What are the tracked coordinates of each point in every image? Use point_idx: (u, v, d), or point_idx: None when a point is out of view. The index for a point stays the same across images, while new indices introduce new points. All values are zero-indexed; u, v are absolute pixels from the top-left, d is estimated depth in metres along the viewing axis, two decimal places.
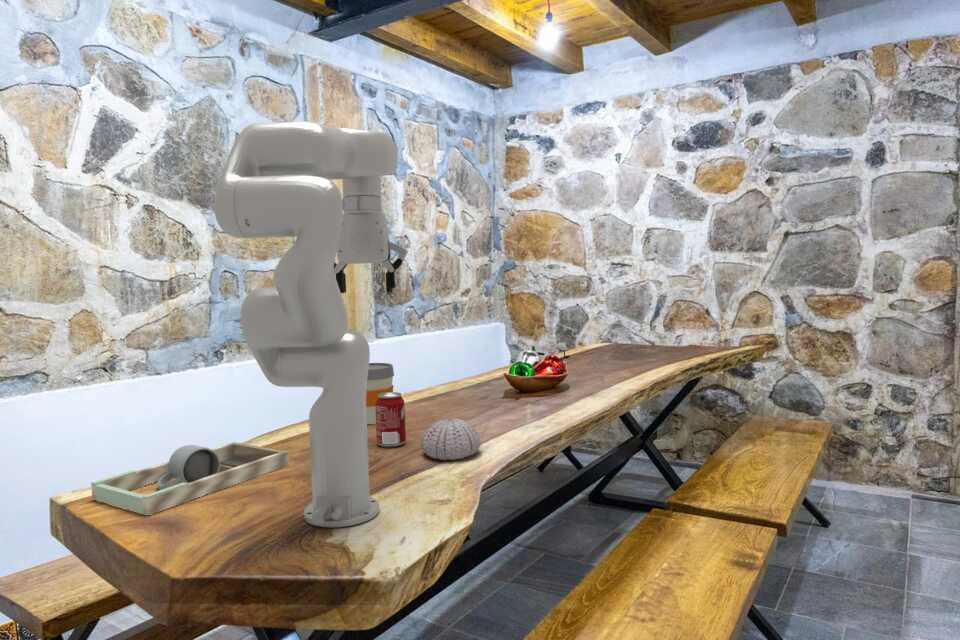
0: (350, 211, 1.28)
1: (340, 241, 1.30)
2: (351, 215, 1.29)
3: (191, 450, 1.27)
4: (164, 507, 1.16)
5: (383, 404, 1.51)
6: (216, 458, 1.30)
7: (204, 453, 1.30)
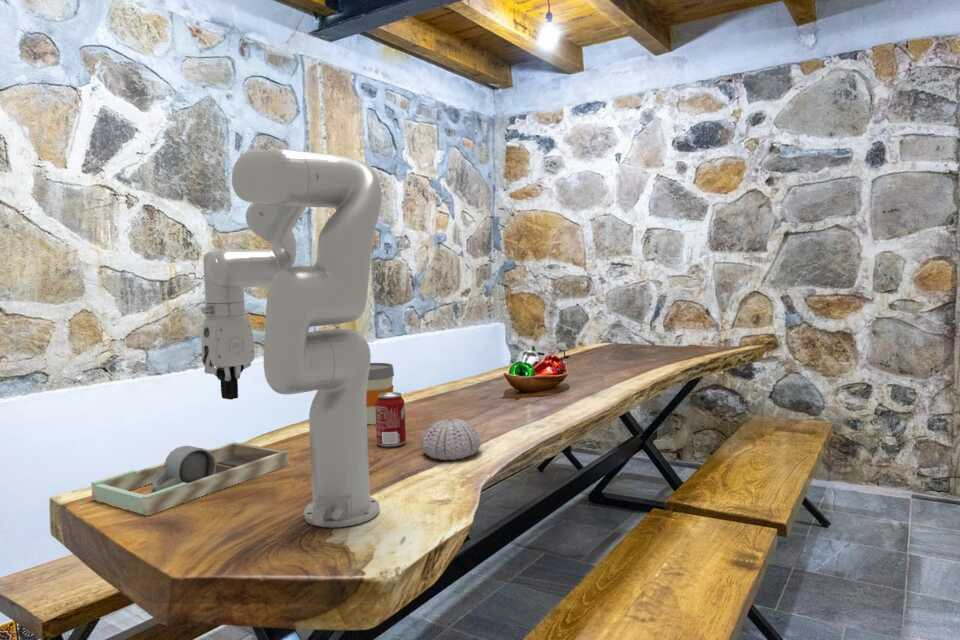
0: (230, 317, 1.33)
1: (219, 347, 1.32)
2: (227, 320, 1.34)
3: (187, 451, 1.27)
4: (164, 507, 1.16)
5: (383, 404, 1.51)
6: (212, 459, 1.30)
7: (200, 454, 1.29)
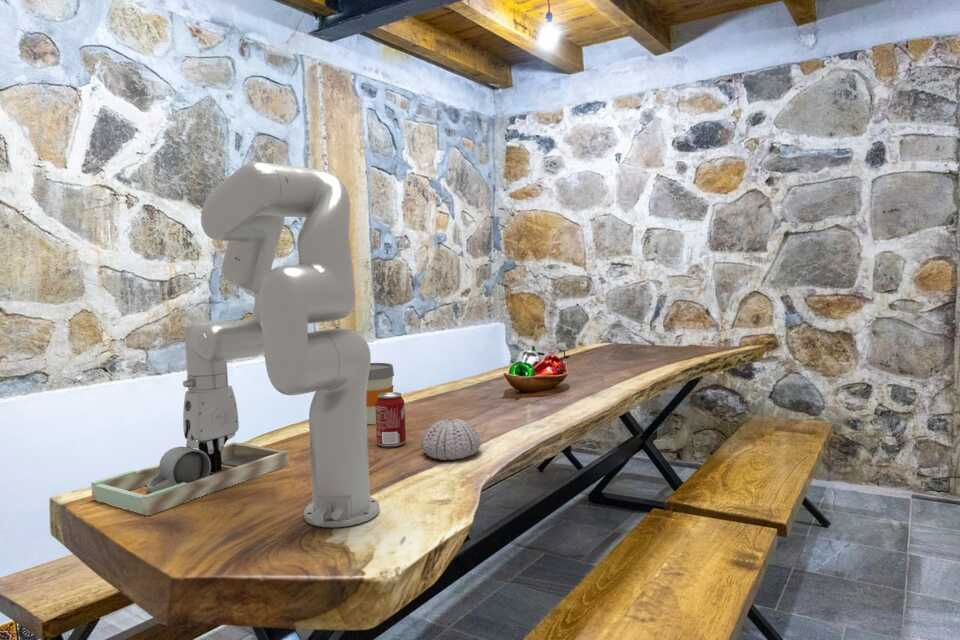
0: (212, 390, 1.30)
1: (200, 421, 1.29)
2: (209, 393, 1.30)
3: (181, 452, 1.26)
4: (164, 507, 1.16)
5: (383, 404, 1.51)
6: (207, 460, 1.29)
7: (195, 455, 1.29)
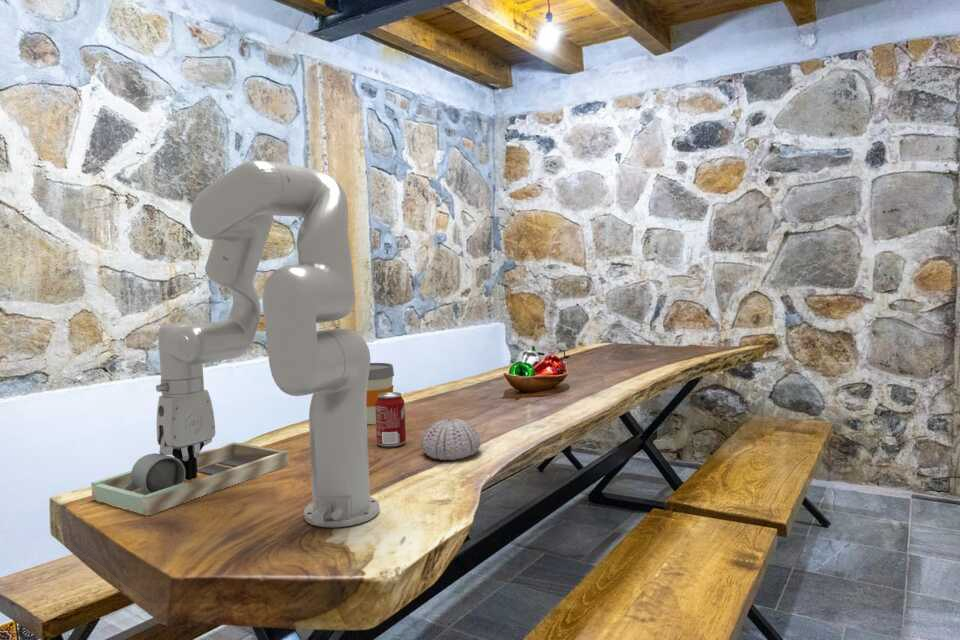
0: (186, 394, 1.25)
1: (174, 426, 1.24)
2: (183, 397, 1.25)
3: (154, 459, 1.21)
4: (164, 507, 1.16)
5: (383, 404, 1.51)
6: (181, 467, 1.25)
7: (168, 462, 1.24)
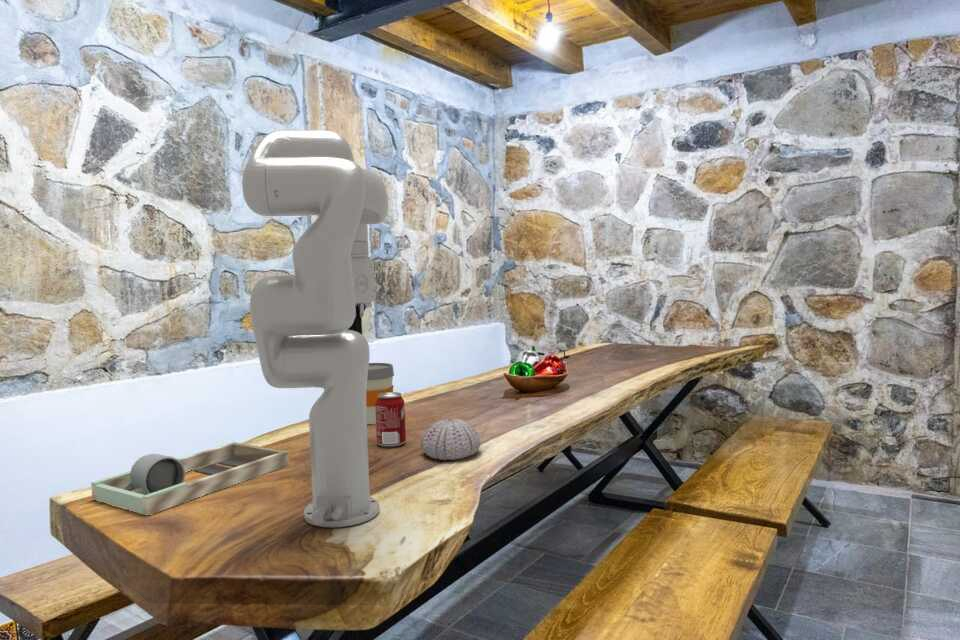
0: (358, 255, 1.37)
1: None
2: (355, 258, 1.38)
3: (154, 459, 1.22)
4: (164, 507, 1.16)
5: (383, 404, 1.51)
6: (181, 467, 1.25)
7: (168, 462, 1.24)
